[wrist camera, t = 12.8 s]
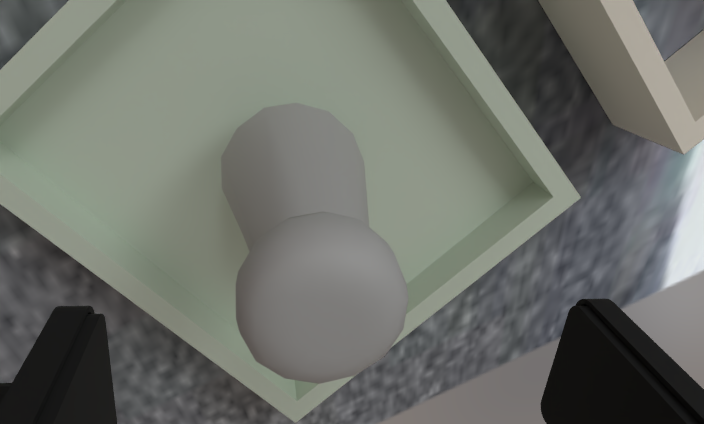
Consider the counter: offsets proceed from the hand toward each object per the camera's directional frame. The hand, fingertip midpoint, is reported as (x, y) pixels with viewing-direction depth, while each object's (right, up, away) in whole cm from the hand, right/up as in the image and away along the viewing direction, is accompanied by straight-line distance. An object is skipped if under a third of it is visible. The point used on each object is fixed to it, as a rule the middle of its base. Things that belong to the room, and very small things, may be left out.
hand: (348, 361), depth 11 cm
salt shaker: (-3, +6, +14) cm, 15 cm away
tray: (-3, +6, +14) cm, 16 cm away
